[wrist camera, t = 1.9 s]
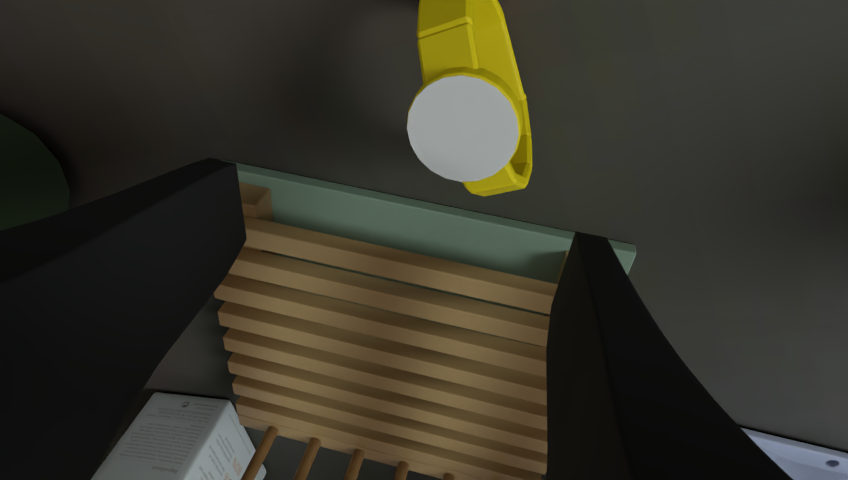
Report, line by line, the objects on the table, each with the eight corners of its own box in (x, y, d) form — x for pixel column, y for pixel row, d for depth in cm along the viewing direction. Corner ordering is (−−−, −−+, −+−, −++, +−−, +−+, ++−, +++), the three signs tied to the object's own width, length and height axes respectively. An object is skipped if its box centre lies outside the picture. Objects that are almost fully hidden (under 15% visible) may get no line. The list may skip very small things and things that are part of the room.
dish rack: (635, 244, 21) (656, 392, 15) (544, 458, 30) (537, 598, 24) (220, 158, 23) (105, 261, 17) (254, 383, 32) (187, 497, 26)
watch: (557, 131, 19) (550, 229, 14) (480, 148, 20) (450, 246, 15) (510, -55, 16) (482, -9, 11) (423, -23, 17) (363, 33, 12)
